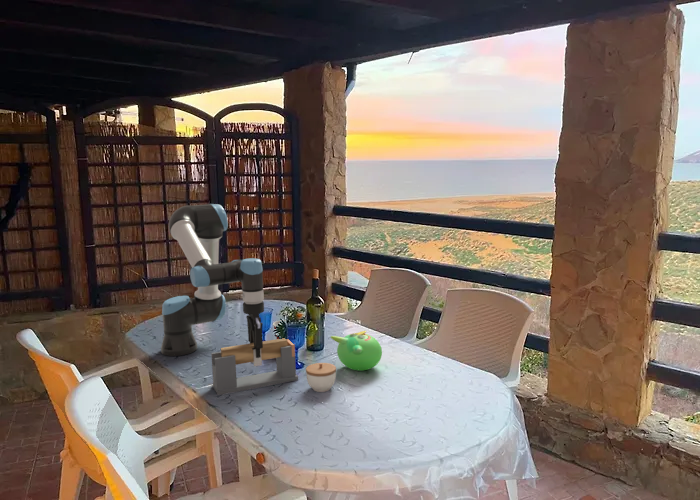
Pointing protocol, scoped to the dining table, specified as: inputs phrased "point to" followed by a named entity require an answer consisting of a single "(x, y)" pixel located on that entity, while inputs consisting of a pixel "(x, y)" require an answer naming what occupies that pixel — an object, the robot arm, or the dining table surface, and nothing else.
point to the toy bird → (358, 351)
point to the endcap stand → (229, 383)
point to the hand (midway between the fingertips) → (256, 363)
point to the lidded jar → (321, 376)
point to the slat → (246, 353)
